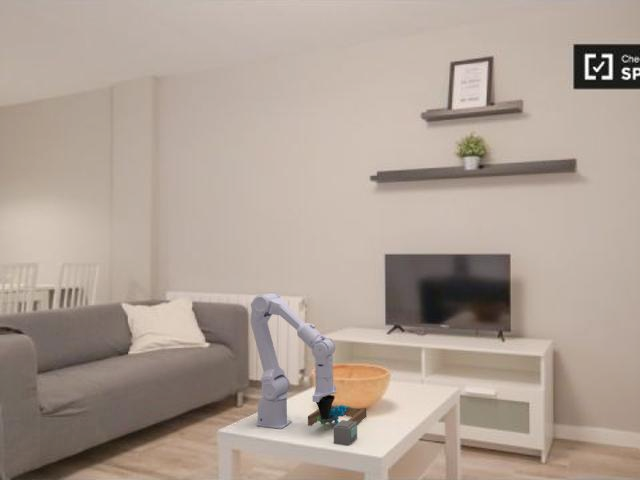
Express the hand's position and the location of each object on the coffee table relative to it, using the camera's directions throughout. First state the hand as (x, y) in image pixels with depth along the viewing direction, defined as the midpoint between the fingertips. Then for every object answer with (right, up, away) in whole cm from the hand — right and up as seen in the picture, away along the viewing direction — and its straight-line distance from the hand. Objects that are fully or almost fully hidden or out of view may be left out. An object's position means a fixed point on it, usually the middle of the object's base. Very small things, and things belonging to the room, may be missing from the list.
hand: (325, 418), depth 185 cm
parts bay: (+4, -4, +9) cm, 11 cm away
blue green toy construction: (+2, -4, +5) cm, 7 cm away
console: (+6, -4, -10) cm, 12 cm away
